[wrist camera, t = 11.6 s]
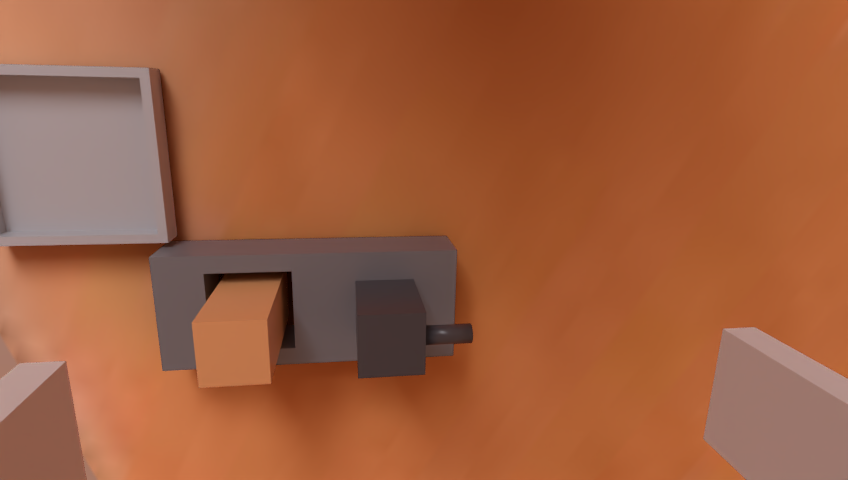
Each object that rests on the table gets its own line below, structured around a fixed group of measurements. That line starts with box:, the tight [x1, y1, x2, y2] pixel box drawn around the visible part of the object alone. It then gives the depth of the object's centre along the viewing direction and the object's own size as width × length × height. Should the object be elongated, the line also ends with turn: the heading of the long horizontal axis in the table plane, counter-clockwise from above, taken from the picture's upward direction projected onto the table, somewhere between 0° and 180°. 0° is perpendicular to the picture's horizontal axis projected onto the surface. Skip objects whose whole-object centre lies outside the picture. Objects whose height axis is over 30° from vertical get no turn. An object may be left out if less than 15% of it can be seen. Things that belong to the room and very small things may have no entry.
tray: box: [0, 64, 177, 246], centre depth 34 cm, size 11×11×2 cm
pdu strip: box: [149, 236, 473, 378], centre depth 35 cm, size 8×20×10 cm, turn 89°
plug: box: [192, 272, 289, 388], centre depth 34 cm, size 4×4×10 cm
